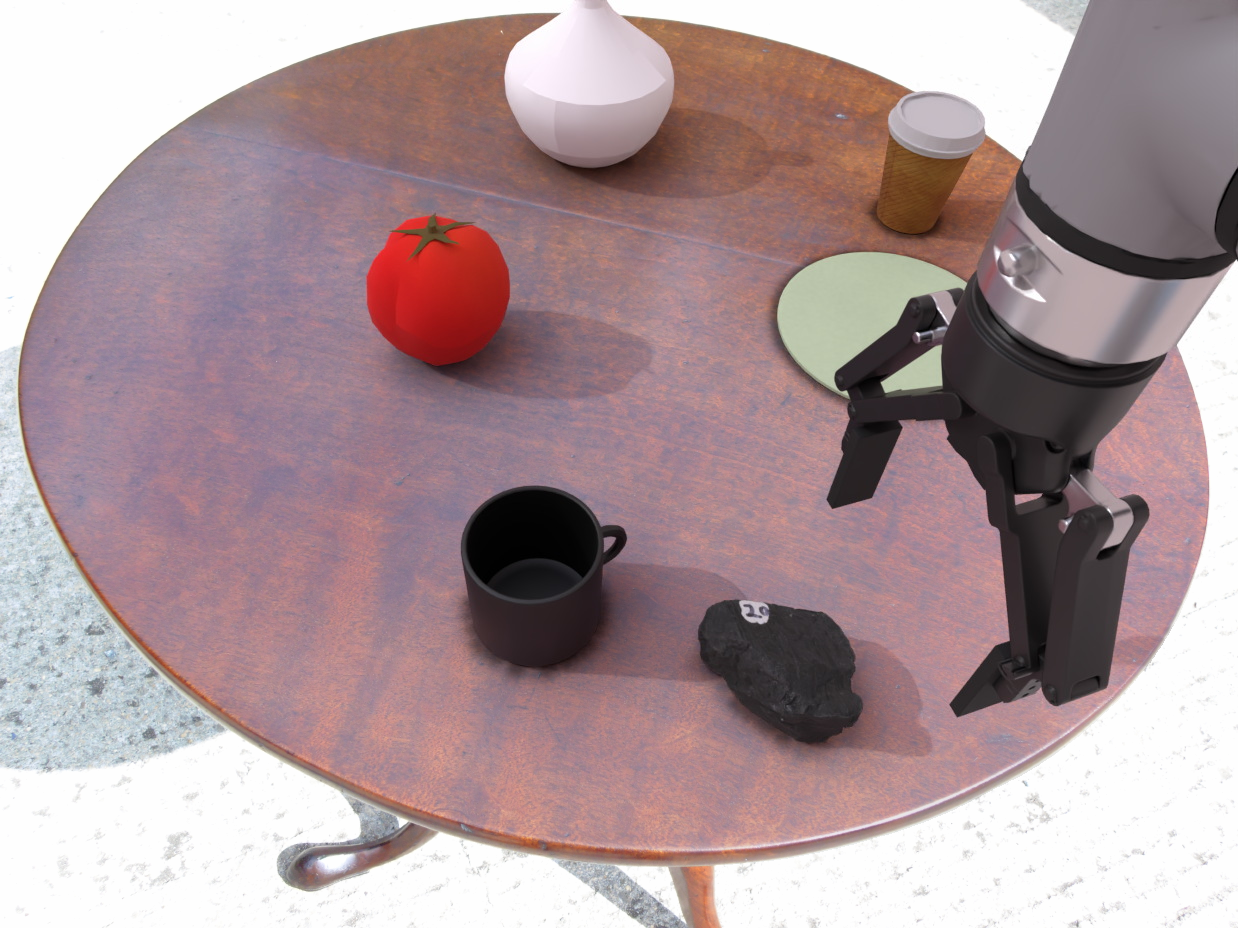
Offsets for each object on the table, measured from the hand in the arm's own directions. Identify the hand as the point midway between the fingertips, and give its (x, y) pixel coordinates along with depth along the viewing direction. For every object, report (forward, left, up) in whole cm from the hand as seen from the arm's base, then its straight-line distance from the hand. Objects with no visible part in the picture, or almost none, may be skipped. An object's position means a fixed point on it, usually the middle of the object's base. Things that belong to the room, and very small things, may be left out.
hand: (907, 593), depth 51 cm
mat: (+26, -31, -16) cm, 43 cm away
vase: (+67, -23, -16) cm, 73 cm away
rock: (+4, +2, -16) cm, 17 cm away
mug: (+18, +12, -16) cm, 27 cm away
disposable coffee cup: (+38, -45, -16) cm, 61 cm away
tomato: (+46, +6, -16) cm, 49 cm away
